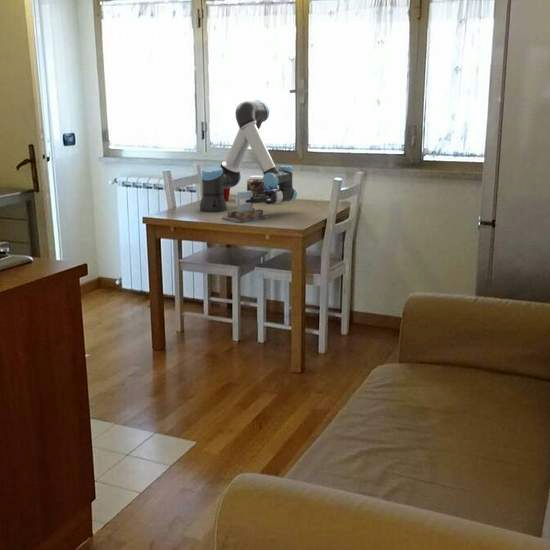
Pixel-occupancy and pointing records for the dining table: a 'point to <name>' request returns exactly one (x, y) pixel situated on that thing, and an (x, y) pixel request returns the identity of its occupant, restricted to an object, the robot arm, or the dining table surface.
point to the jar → (256, 185)
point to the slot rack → (245, 215)
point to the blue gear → (271, 188)
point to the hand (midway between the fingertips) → (238, 201)
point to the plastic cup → (226, 193)
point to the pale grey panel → (245, 206)
